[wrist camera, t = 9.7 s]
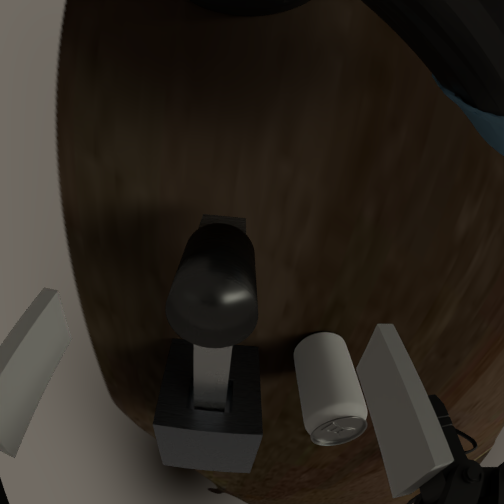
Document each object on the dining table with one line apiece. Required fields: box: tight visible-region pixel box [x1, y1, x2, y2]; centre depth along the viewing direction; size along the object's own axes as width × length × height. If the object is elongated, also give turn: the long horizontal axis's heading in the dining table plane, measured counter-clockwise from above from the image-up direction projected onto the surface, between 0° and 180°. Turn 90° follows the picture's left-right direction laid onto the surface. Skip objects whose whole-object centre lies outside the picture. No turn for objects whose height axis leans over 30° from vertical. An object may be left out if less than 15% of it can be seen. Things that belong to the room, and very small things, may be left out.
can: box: [294, 332, 367, 446], centre depth 31 cm, size 6×6×12 cm
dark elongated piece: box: [166, 214, 258, 412], centre depth 24 cm, size 26×4×9 cm, turn 173°
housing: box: [153, 339, 263, 473], centre depth 32 cm, size 10×10×12 cm
